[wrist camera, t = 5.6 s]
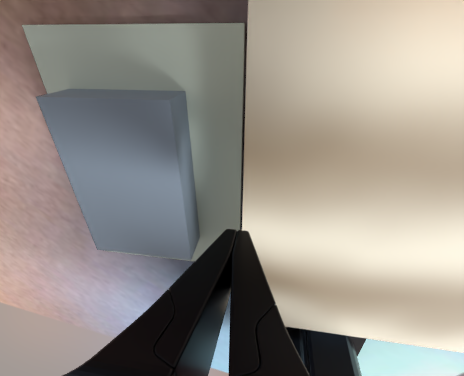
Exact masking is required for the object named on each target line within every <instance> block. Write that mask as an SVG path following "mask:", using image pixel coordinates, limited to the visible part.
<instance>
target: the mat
mask: <svg viewBox="0 0 464 376" xmlns="http://www.w3.org/2000/svg"><path fill="white" fill-rule="evenodd" d="M22 27H23V30H24V32H25V35H26V38H27V40H28V43H29V46H30V48H31V51H32V54H33V57H34V59H35V62H36V65H37V67H38V70H39V73H40V75H41V78H42V81H43V84H44V86H45V89H46V92H47V94H50V93H54V92H58V91H62V90H66V89H109V90H159V91H186V101H187V111H188V121H189V131H190V141H191V151H192V161H193V171H194V181H195V191H196V201H197V211H198V221H199V231H200V238H199V241H198V244H197V246H196V249H195V252H194V254H193V257H192V259H191V260H185V261H194V262H195V261H196V260H197V259H198V258H199V257H200V256H201V255H202V254H203V253H204V252H205V250H206V249H207V248H208V247H209V246H210V245H211V244H212V243H213V242H214V241H215V240H216V239H217V238H218V237H219V236H220V235H221V234H222V233H223V232H224V231H225V230H226V229H235V230H237V231H238V230H240V226H241V181H242V136H243V91H244V46H245V23H183V24H67V25H22ZM105 251H106V250H105ZM110 252H114V251H110ZM119 253H123V252H119ZM127 254H132V253H127ZM135 255H141V254H135ZM144 256H149V255H144ZM152 257H158V256H152ZM160 258H167V257H160ZM169 259H176V258H169ZM177 260H184V259H177Z"/></svg>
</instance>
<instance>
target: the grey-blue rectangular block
mask: <svg viewBox="0 0 464 376" xmlns="http://www.w3.org/2000/svg"><path fill="white" fill-rule="evenodd" d="M36 98H37V101H38V103H39V106H40V108H41V111H42V113H43V116H44V118H45V121H46V123H47V126H48V128H49V131H50V133H51V136H52V138H53V141H54V143H55V146H56V148H57V151H58V153H59V156H60V158H61V161H62V163H63V166H64V168H65V171H66V173H67V176H68V178H69V181H70V183H71V186H72V188H73V191H74V193H75V196H76V198H77V201H78V203H79V206H80V208H81V210H82V213H83V215H84V218H85V220H86V223H87V225H88V228H89V230H90V233H91V235H92V238H93V240H94V243H95V245H96V248H97V250H106V251H114V252H123V253H132V254H141V255H149V256H158V257H167V258H176V259H184V260H191V259H192V257H193V254H194V252H195V249H196V246H197V244H198V241H199V238H200V231H199V221H198V211H197V201H196V191H195V181H194V171H193V161H192V151H191V141H190V131H189V121H188V111H187V101H186V91H159V90H109V89H66V90H62V91H58V92H54V93H50V94H45V95H41V96H37V97H36Z"/></svg>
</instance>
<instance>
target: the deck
mask: <svg viewBox="0 0 464 376" xmlns="http://www.w3.org/2000/svg"><path fill="white" fill-rule="evenodd" d="M242 230H245V231H248V232H249V233H250V236H251V239H252V241H253V244H254V247H255V249H256V252H257V255H258V257H259V260H260V263H261V265H262V268H263V271H264V273H265V276H266V278H267V281H268V284H269V286H270V289H271V292H272V294H273V297H274V300H275V302H276V305H277V307H278V310H279V313H280V315H281V318H282V320H283V322H284V325H285V327H292V328H299V329H306V330H313V331H319V332H326V333H333V334H340V335H346V336H353V337H360V338H367V339H373V340H380V341H387V342H394V343H401V344H407V345H414V346H421V347H428V348H434V349H441V350H448V351H455V352H461V353H464V0H248V25H247V62H246V100H245V137H244V175H243V212H242Z"/></svg>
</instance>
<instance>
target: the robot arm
mask: <svg viewBox="0 0 464 376" xmlns="http://www.w3.org/2000/svg"><path fill="white" fill-rule="evenodd" d="M230 292H231V305H230V345H229V376H362V375H361V371H360V367H359V363H358V359H357V356H358V354H359V352H360V350H361V348H362V346H363V344H364V342H365V341H366V339H367V338H360V337H353V336H346V335H340V334H333V333H326V332H319V331H313V330H306V329H299V328H292V327H285V325H284V322H283V320H282V318H281V315H280V313H279V310H278V307H277V305H276V302H275V300H274V297H273V294H272V292H271V289H270V286H269V284H268V281H267V278H266V276H265V273H264V271H263V268H262V265H261V263H260V260H259V257H258V255H257V252H256V249H255V247H254V244H253V241H252V239H251V236H250V233H249V232H248V231H245V230H238V231H237V230H235V229H226V230H225V231H224V232H223V233H222V234H221V235H220V236H219V237H218V238H217V239H216V240H215V241H214V242H213V243H212V244H211V245H210V246H209V247H208V248H207V249H206V250H205V252H204V253H203V254H202V255H201V256H200V257H199V258H198V259H197V260H196V261H195V262H194V263H193V264H192V265H191V266H190V267H189V268H188V269H187V270H186V271H185V272H184V273H183V274H182V275H181V276H180V277H179V279H178V280H177V281H176V282H175V283H174V284H173V285H172V286H171V287H170V288H169V290H167V291H166V292H165V293H164V294H163V295H162V296H161V297H160V298H159V299H158V300H157V301H156V302H155V303H154V304H153V305H152V306H151V307H150V308H149V309H148V310H147V311H146V312H144V313H143V314H142V315H141V316H140V317H139V318H138V319H137V320H135V321H134V322H133V323H132V324H131V325H130V326H129V327H127V328H126V329H125V330H124V331H123V332H121V333H120V334H119V335H118V336H117V337H116V338H114V339H113V340H112V341H111V342H110V343H108V344H107V345H106V346H105V347H104V348H103V349H101V350H100V351H99V352H98V353H97V354H96V355H94V356H93V357H92V358H91V359H89V360H88V361H86V362H85V363H84V364H82V365H81V366H79V367H78V368H76V369H74V370H73V371H71V372H69V373H67V374H65V375H63V376H208V374H209V370H210V366H211V363H212V359H213V355H214V351H215V348H216V344H217V340H218V337H219V333H220V329H221V326H222V322H223V318H224V314H225V311H226V307H227V303H228V300H229V296H230Z"/></svg>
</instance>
